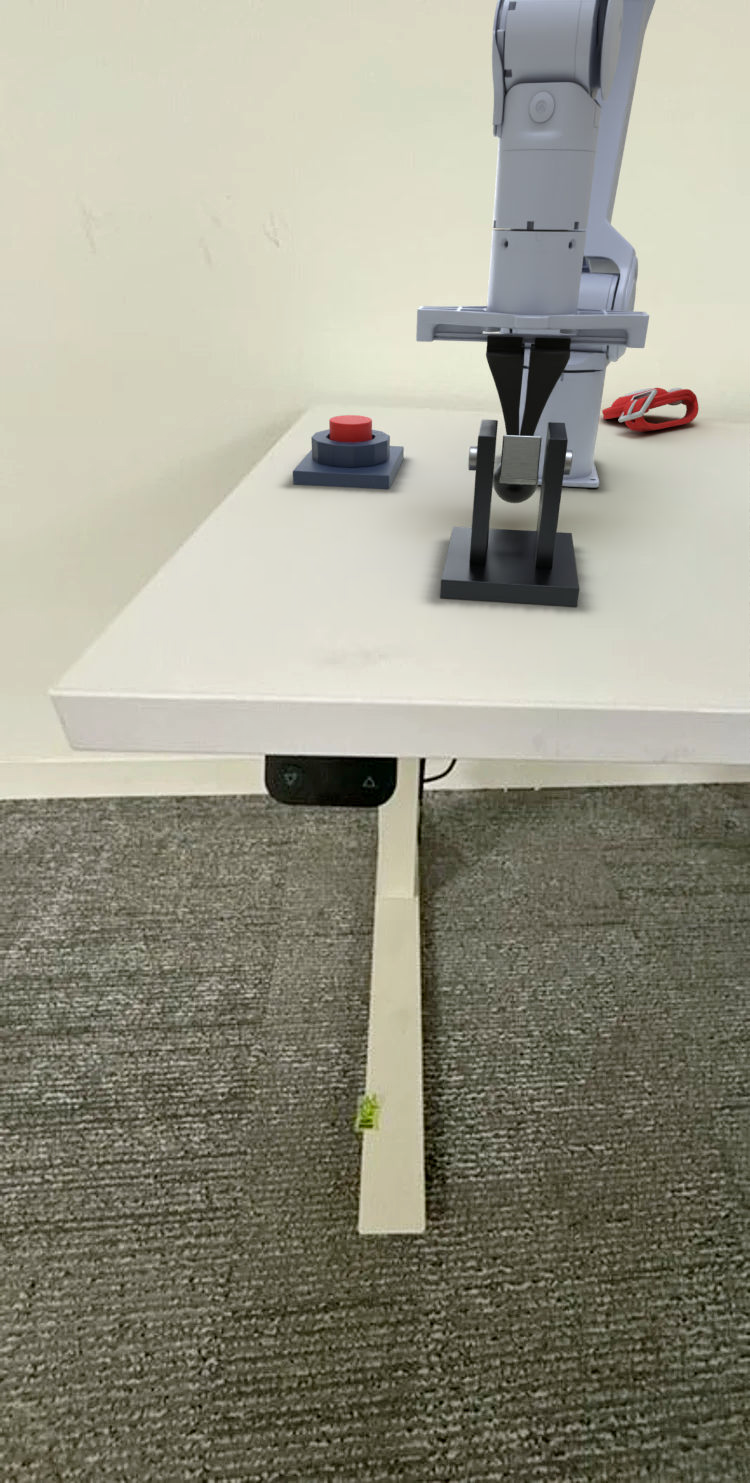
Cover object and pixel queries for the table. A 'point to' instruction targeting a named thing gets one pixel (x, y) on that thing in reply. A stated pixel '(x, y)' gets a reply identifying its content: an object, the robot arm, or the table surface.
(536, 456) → the lever
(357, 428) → the button
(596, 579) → the table surface
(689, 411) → the red strap with buckle
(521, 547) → the bracket
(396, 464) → the box
